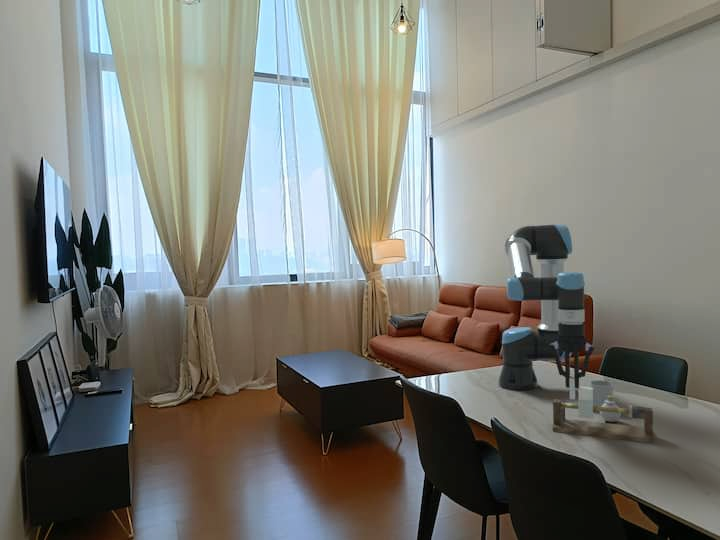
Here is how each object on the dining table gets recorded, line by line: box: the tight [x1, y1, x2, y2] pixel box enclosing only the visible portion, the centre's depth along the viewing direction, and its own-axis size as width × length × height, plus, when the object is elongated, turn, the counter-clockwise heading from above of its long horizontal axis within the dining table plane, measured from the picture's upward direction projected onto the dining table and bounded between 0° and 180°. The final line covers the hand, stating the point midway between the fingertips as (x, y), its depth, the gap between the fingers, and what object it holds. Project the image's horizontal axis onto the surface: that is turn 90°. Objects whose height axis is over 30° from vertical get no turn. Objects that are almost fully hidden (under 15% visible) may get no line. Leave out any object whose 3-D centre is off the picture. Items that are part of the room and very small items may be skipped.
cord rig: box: [552, 398, 655, 444], centre depth 152 cm, size 27×9×9 cm, turn 64°
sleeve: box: [577, 386, 594, 420], centre depth 153 cm, size 4×5×8 cm
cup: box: [586, 379, 614, 406], centre depth 172 cm, size 7×10×9 cm
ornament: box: [598, 391, 622, 423], centre depth 160 cm, size 6×7×10 cm
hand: (572, 398), depth 155 cm, fingers closed
